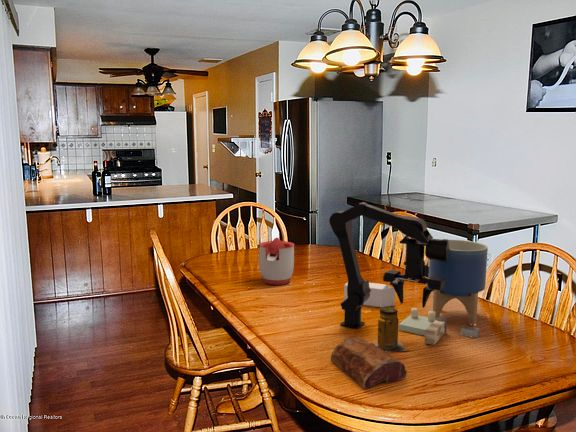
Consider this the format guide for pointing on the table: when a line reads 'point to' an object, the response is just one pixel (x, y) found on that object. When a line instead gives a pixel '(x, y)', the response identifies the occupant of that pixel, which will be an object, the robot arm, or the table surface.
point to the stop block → (470, 331)
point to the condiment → (388, 331)
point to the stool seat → (417, 322)
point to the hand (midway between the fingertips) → (412, 305)
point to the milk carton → (377, 295)
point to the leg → (435, 330)
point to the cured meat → (367, 363)
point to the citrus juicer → (276, 261)
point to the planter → (461, 276)
